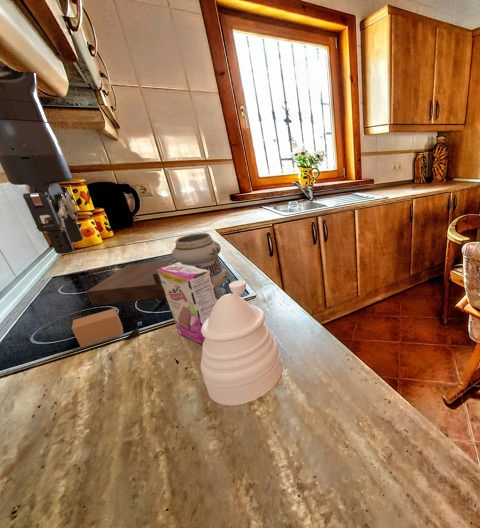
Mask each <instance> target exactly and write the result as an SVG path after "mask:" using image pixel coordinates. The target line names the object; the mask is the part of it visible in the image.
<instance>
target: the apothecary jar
mask: <svg viewBox="0 0 480 528" xmlns="http://www.w3.org/2000/svg"><path fill="white" fill-rule="evenodd" d="M174 244H175V247H174V248H173V250H172V251H171V259H172V258H173V259H174V260H175V261H177V262H180V263H184V264H187V265H191V266H194V267H198V268H202V269H205V270H209V271H210V274H211V277H212V282H213V285H214V289H215V293H216V297H217V300H218V299H219V298H220V297H222V296H223V295H225V294H227V293H228V294H229V292H228V289H226V288H224V287H222V286H223V285H225V284H226V282H227V280H228V278H229V273H228V271H227V270H226V269H225V268H223V267H222V265H221V262H220V259H219V254H220V252H221V250H222V247H221V245H220V243H218V242H217V241H215V240H213V238H212V235H211V234H210V233H209V232H208V233H207V232H201V233H200V232H199V233H192V234H187V235H184V236H181V237H178V238H176V239H175V242H174Z"/></svg>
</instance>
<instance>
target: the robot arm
mask: <svg viewBox="0 0 480 528" xmlns="http://www.w3.org/2000/svg"><path fill="white" fill-rule="evenodd" d="M0 166H1V167H2V170H3V172H4V174H5V176H6V179H7V181H8V182H9V184H11V185H15V186H24V185H26V186H28V187H29V190H30V192H28V193H27V192H26V193H22V195H23V196H22V198H23V199H24V201H25V203H26V206H27V208H28V210H29V213H30V215H31V217H32V219H33V221H34V224H35V226H36V229H37V230H38V231H39V232H40V233H41V232H43V233H44V234H47V236H48V238H49V242H51V246H52V248H53V249H54V251H55V253H56V254H57V255H58V254H59V255H62V254H69V253H72V252H73V251H74V250H75V248H74V245H73V243H76V242H81V241H83V240H84V237H83V234H82V232H81V229H80V227H79V225H78V217H79V213H78V212H77V210H76V207H75V205H74V202H73V200H72V197H71V195H70V193H69V189H68V187H67V186H66V185H60V184H59V183H67V182H71V181H72V180H73V176H72V172H71V171H70V168H69V166H68V163H67V160H66V158H65V155H64V153H63V151H62V148H61V144H60V143H59V140H58V138H57V136H56V134H55V133H54V131H53V129H52V127H51V125H50V123H49V121H48V117H47V115H46V113H45V111H44V107H43V105H42V103H41V100H40V98H39V94H38V81H37V72H36V73H32V72H18V71H15V70H13V69H11V68H9V67H8V66H6V65H4V64H3V63H0Z"/></svg>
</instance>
